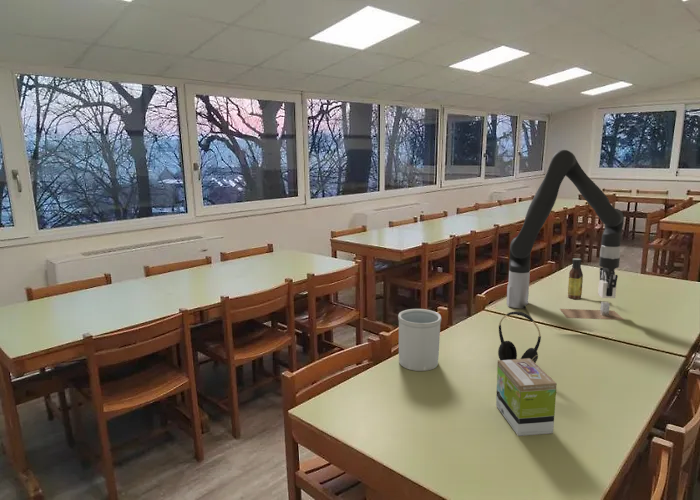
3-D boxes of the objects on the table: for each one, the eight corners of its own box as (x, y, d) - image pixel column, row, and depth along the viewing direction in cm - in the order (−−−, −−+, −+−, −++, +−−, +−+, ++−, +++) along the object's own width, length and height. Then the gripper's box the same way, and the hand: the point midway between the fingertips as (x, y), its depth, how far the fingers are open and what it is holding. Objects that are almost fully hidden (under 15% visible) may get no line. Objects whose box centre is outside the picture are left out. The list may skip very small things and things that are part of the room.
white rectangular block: (602, 297, 198) (603, 283, 196) (597, 294, 203) (599, 279, 201) (615, 298, 197) (616, 283, 195) (610, 294, 202) (611, 280, 201)
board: (566, 321, 199) (566, 317, 198) (559, 311, 210) (559, 308, 210) (624, 323, 195) (624, 319, 194) (613, 313, 206) (613, 310, 206)
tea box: (494, 406, 133) (496, 358, 130) (527, 404, 134) (530, 356, 131) (517, 437, 118) (520, 384, 115) (554, 434, 119) (558, 382, 116)
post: (602, 315, 200) (603, 303, 199) (600, 313, 203) (601, 301, 202) (608, 315, 200) (609, 303, 199) (606, 313, 202) (607, 301, 201)
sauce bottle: (582, 299, 226) (586, 260, 223) (569, 299, 228) (572, 260, 224) (579, 296, 233) (582, 257, 229) (565, 295, 234) (568, 257, 230)
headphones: (532, 379, 148) (535, 320, 144) (490, 365, 159) (493, 310, 155) (544, 370, 154) (548, 314, 150) (503, 357, 165) (506, 304, 161)
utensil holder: (443, 356, 166) (444, 310, 163) (436, 374, 153) (437, 325, 149) (403, 351, 171) (403, 306, 168) (393, 369, 158) (393, 320, 154)
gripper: (594, 252, 204) (591, 289, 207) (606, 259, 190) (603, 298, 193) (612, 252, 202) (609, 289, 206) (626, 259, 189) (622, 299, 192)
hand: (606, 293), depth 200 cm, fingers closed on white rectangular block, 5 cm apart
